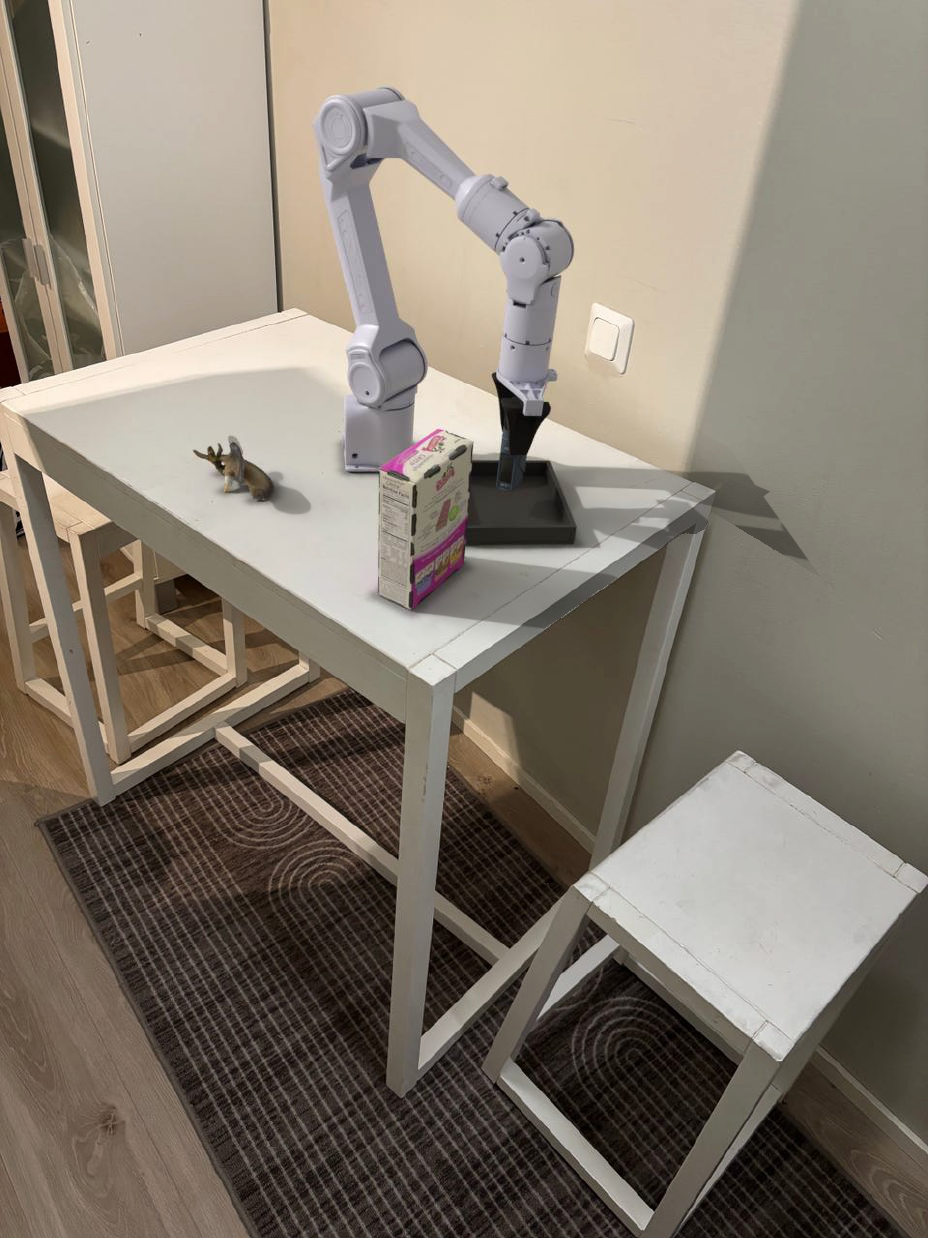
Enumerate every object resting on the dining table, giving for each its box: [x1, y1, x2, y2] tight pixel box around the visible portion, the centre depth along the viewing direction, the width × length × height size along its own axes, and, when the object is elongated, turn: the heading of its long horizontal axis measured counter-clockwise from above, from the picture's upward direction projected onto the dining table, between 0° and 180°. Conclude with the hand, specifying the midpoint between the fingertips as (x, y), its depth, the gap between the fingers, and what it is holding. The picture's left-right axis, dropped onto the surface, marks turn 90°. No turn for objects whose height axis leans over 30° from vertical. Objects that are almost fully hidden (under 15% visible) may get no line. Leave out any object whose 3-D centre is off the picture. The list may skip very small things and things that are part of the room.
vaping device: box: [496, 397, 528, 492], centre depth 117 cm, size 3×5×12 cm, turn 158°
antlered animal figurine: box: [192, 435, 275, 502], centre depth 120 cm, size 8×7×9 cm
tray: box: [465, 459, 578, 546], centre depth 122 cm, size 14×16×2 cm
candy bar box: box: [377, 428, 475, 611], centre depth 104 cm, size 11×5×16 cm, turn 148°
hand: (514, 442), depth 117 cm, fingers closed on vaping device, 5 cm apart
